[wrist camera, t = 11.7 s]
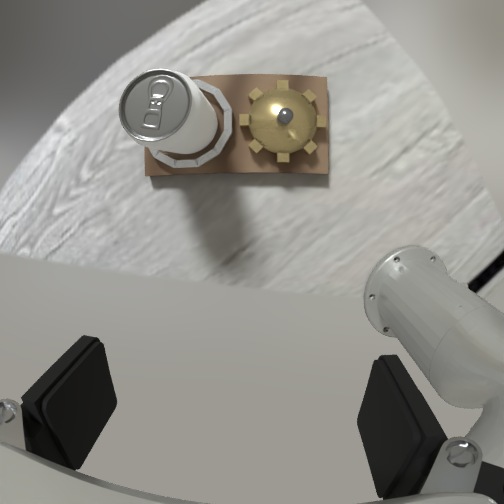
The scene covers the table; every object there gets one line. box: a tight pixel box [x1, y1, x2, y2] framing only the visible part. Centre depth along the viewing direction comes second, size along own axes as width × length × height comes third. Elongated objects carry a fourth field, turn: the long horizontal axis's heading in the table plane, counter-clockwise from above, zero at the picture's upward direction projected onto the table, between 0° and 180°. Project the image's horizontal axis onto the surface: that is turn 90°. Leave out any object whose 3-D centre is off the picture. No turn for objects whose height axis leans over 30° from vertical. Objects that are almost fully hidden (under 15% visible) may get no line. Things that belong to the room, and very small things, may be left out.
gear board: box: [145, 74, 328, 176], centre depth 32 cm, size 20×11×2 cm, turn 90°
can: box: [119, 69, 218, 154], centre depth 25 cm, size 6×6×12 cm
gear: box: [239, 80, 326, 162], centre depth 29 cm, size 9×9×4 cm
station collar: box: [149, 79, 233, 168], centre depth 31 cm, size 10×10×1 cm
